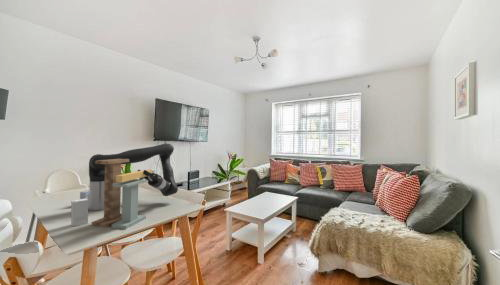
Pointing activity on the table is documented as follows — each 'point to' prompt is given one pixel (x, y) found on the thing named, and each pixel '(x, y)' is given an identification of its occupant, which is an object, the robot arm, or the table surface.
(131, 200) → the slate pedestal
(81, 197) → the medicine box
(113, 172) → the walnut stand
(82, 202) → the skincare box
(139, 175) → the ochre bar
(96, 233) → the table surface
